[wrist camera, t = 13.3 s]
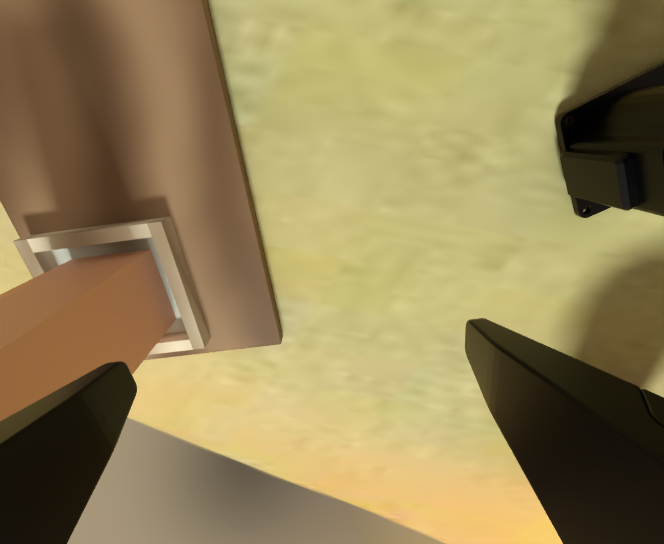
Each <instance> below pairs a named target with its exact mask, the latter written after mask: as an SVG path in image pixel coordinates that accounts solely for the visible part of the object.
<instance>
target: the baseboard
mask: <svg viewBox="0 0 664 544" xmlns="http://www.w3.org/2000/svg"><path fill="white" fill-rule="evenodd" d="M0 201H1V203H2V205H3V207H4V208H5V210H6V212H7V214H8V216H9V218H10V220H11V222H12V223H13V225H14V227H15V229H16V231H17V233H18V235H19V237H20V238H21V239H18V240H15V241H13V242H14V244H15V246H16V248H17V250H18V252H19V253H20V255H21V257H22V259H23V261H24V263H25V264H26V266H27V268H28V270H29V272H30V274H31V275H32V277H33V278H35V277H37V276H39V275H41V274H43V273H45V272H47V271H49V270H51V269H53V268H55V267H57V266H59V265H61V264H63V263H65V262H67V261H69V260H71V259H78V258H86V257H93V256H101V255H109V254H117V253H125V252H133V251H141V250H149V249H151V252H152V254H153V257H154V260H155V262H156V265H157V268H158V271H159V273H160V276H161V279H162V281H163V284H164V287H165V290H166V292H167V295H168V298H169V300H170V303H171V306H172V308H173V311H174V314H175V317H176V320H175V322H174V323H173V324H172V325H171V327H170V328H169V329H168V330H167V332H166V333H165V334H164V335H163V337H162V338H161V339H160V340H159V342H158V343H157V344H156V345H155V347H154V348H153V349H152V350H151V352H150V353H149V354H148V355H147V357H146V358H145V359H144V360H149V359H157V358H166V357H174V356H183V355H192V354H200V353H209V352H217V351H226V350H234V349H243V348H252V347H260V346H269V345H277V344H281V342H282V337H283V335H282V330H281V326H280V321H279V317H278V312H277V308H276V304H275V299H274V295H273V290H272V286H271V281H270V277H269V273H268V268H267V264H266V259H265V255H264V250H263V246H262V242H261V237H260V233H259V228H258V224H257V219H256V215H255V211H254V206H253V202H252V197H251V193H250V188H249V184H248V180H247V175H246V171H245V166H244V162H243V157H242V153H241V149H240V144H239V140H238V135H237V131H236V126H235V122H234V118H233V113H232V109H231V104H230V100H229V95H228V91H227V87H226V82H225V78H224V73H223V69H222V65H221V60H220V56H219V51H218V47H217V42H216V38H215V34H214V29H213V25H212V20H211V16H210V11H209V7H208V3H207V0H0Z"/></svg>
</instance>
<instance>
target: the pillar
mask: <svg viewBox="0 0 664 544" xmlns="http://www.w3.org/2000/svg"><path fill="white" fill-rule="evenodd" d="M175 320H176V317H175V314H174V311H173V308H172V306H171V303H170V300H169V298H168V295H167V292H166V290H165V287H164V284H163V281H162V279H161V276H160V273H159V271H158V268H157V265H156V262H155V260H154V257H153V254H152V252H151V249H149V250H141V251H133V252H125V253H117V254H109V255H101V256H93V257H86V258H78V259H71V260H69V261H67V262H65V263H63V264H61V265H59V266H57V267H55V268H53V269H51V270H49V271H47V272H45V273H43V274H41V275H39V276H37V277H35V278H33V279H31V280H29V281H27V282H25V283H23V284H21V285H19V286H17V287H15V288H13V289H11V290H9V291H7V292H5V293H3V294H1V295H0V421H2V420H3V419H5V418H7V417H9V416H11V415H12V414H14V413H16V412H18V411H20V410H22V409H23V408H25V407H27V406H29V405H31V404H32V403H34V402H36V401H38V400H40V399H42V398H43V397H45V396H47V395H49V394H51V393H52V392H54V391H56V390H58V389H60V388H62V387H63V386H65V385H67V384H69V383H71V382H72V381H74V380H76V379H78V378H80V377H82V376H83V375H85V374H87V373H89V372H91V371H92V370H94V369H96V368H98V367H100V366H102V365H103V364H105V363H109V362H117V361H122V362H125V363H126V364H127V366H128V368H129V370H130V372H131V374H133V373H134V372H135V370H136V369H137V368H138V367H139V365H140V364H141V363H142V362H143V360H144V359H145V358H146V357H147V355H148V354H149V353H150V352H151V350H152V349H153V348H154V347H155V345H156V344H157V343H158V342H159V340H160V339H161V338H162V337H163V335H164V334H165V333H166V332H167V330H168V329H169V328H170V327H171V325H172V324H173V323H174V322H175Z"/></svg>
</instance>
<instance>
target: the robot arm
mask: <svg viewBox="0 0 664 544" xmlns="http://www.w3.org/2000/svg"><path fill="white" fill-rule="evenodd" d="M568 117H569V123H568V125H565V120H566V118H568ZM556 129H557V134H558V139H559V143H560V148H561V152H562V154H561V157H560V159H561V163H562V168H563V172H564V177H565V182H566V186H567V191H568V194H569V195H570V196H571V198H572V203H573V208H574V212H575V214H576V215H577V216H579V217H582V218H587V217H590V216H592V215H595V214H597V213H599V212H601V211H604V210H606V209H608V208H610V207H614V208H618V209H622V210H630V209H636V210H640V211H644V212H648V213H652V214H656V215H660V216H664V62H662V63H660V64H658V65H656V66H654V67H652V68H650V69H648V70H646V71H644V72H642V73H640V74H638V75H636V76H634V77H632V78H630V79H628V80H626V81H624V82H622V83H620V84H618V85H616V86H615V87H613V88H611V89H609V90H607V91H605V92H603V93H601V94H599V95H597V96H595V97H593V98H591V99H589V100H587V101H585V102H583V103H581V104H579V105H577V106H575V107H573V108H571V109H569V110H567V111H565V112H563V113H562V114H560V115H559V116H558V118H557V120H556ZM586 206H587V209H586V211H584V212H583V209H584V208H585V207H586ZM465 351H466V355H467V358H468V360H469V363H470V365H471V367H472V370H473V372H474V375H475V377H476V379H477V382H478V384H479V387H480V389H481V391H482V394H483V396H484V399H485V401H486V403H487V405H488V408H489V410H490V412H491V414H492V416H493V418H494V419H495V421H496V423H497V425H498V427H499V428H500V430H501V432H502V434H503V436H504V438H505V439H506V441H507V443H508V445H509V447H510V448H511V450H512V452H513V454H514V456H515V457H516V459H517V461H518V463H519V465H520V466H521V468H522V470H523V472H524V474H525V475H526V477H527V479H528V481H529V483H530V485H531V486H532V488H533V490H534V492H535V494H536V495H537V497H538V499H539V501H540V503H541V504H542V506H543V508H544V510H545V512H546V513H547V515H548V517H549V519H550V521H551V522H552V524H553V526H554V528H555V530H556V531H557V533H558V535H559V537H560V539H561V541H562V542H563V544H664V398H663V397H661V396H659V395H657V394H654V393H652V392H650V391H648V390H645V389H641V390H640V388H639V387H638V386H636V385H634V384H632V383H629V382H627V381H625V380H623V379H620V378H618V377H616V376H613V375H611V374H609V373H607V372H604V371H602V370H600V369H598V368H595V367H593V366H591V365H589V364H586V363H584V362H582V361H580V360H577V359H575V358H573V357H571V356H568V355H566V354H564V353H562V352H559V351H557V350H555V349H552V348H550V347H548V346H546V345H543V344H541V343H539V342H537V341H534V340H532V339H530V338H528V337H525V336H523V335H521V334H519V333H516V332H514V331H512V330H510V329H507V328H505V327H503V326H501V325H498V324H496V323H494V322H491V321H489V320H487V319H484V318H480V319H471V320H468V321H467V323H466V333H465ZM136 393H137V385H136V383H135V380H134V378H133V376H132V374H131V372H130V370H129V368H128V366H127V364H126V363H125V362H122V361H117V362H109V363H105V364H103V365H102V366H100V367H98V368H96V369H94V370H92V371H91V372H89V373H87V374H85V375H83V376H82V377H80V378H78V379H76V380H74V381H72V382H71V383H69V384H67V385H65V386H63V387H62V388H60V389H58V390H56V391H54V392H52V393H51V394H49V395H47V396H45V397H43V398H42V399H40V400H38V401H36V402H34V403H32V404H31V405H29V406H27V407H25V408H23V409H22V410H20V411H18V412H16V413H14V414H12V415H11V416H9V417H7V418H5V419H3V420H2V421H0V544H67V542H68V540H69V538H70V536H71V534H72V532H73V530H74V528H75V526H76V524H77V523H78V521H79V519H80V517H81V515H82V512H83V511H84V508H85V507H86V505H87V503H88V500H89V499H90V497H91V495H92V493H93V491H94V489H95V487H96V485H97V483H98V481H99V479H100V477H101V475H102V473H103V471H104V469H105V467H106V465H107V463H108V461H109V459H110V457H111V455H112V453H113V451H114V448H115V446H116V444H117V441H118V439H119V436H120V434H121V431H122V429H123V426H124V423H125V421H126V419H127V416H128V414H129V411H130V409H131V406H132V404H133V401H134V399H135V396H136Z"/></svg>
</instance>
